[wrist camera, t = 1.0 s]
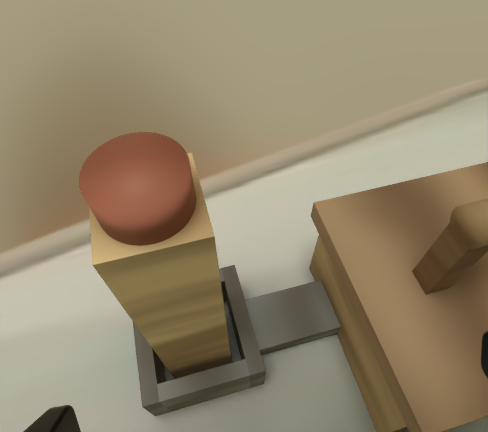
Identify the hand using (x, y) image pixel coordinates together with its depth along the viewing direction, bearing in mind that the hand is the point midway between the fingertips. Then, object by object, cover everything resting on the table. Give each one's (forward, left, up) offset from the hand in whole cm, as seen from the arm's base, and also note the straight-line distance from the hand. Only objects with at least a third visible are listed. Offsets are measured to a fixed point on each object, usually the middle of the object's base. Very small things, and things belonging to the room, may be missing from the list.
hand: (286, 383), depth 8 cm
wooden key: (+2, +6, -14) cm, 15 cm away
